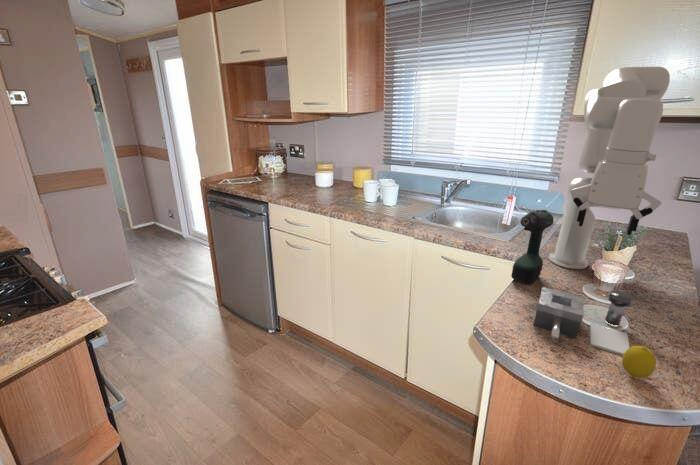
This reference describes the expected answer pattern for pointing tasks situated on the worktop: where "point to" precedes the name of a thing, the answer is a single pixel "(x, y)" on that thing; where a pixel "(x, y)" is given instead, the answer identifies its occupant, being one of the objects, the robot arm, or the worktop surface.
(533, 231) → the power drill
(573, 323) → the block
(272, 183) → the worktop surface
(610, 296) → the dark gray knob
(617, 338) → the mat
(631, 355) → the lemon
